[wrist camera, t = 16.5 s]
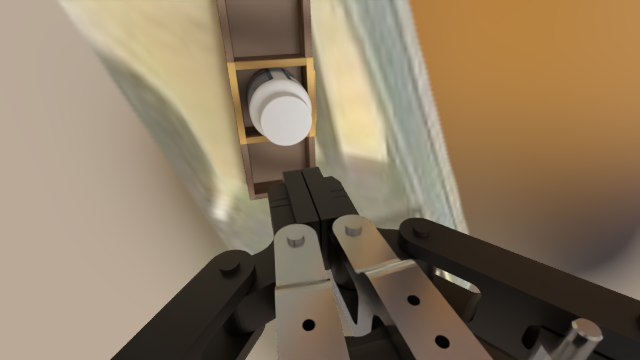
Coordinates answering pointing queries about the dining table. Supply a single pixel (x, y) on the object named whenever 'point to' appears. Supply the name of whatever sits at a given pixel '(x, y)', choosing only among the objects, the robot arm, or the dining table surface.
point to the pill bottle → (279, 106)
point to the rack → (268, 52)
